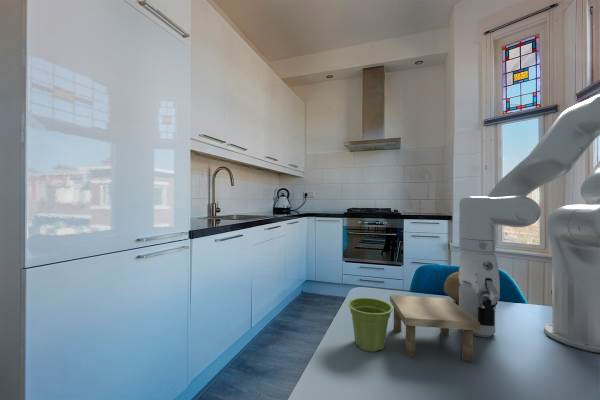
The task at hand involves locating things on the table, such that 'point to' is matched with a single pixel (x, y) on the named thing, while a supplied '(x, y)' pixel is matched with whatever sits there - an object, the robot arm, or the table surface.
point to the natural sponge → (452, 286)
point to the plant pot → (370, 322)
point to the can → (474, 308)
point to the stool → (433, 320)
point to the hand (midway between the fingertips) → (476, 317)
